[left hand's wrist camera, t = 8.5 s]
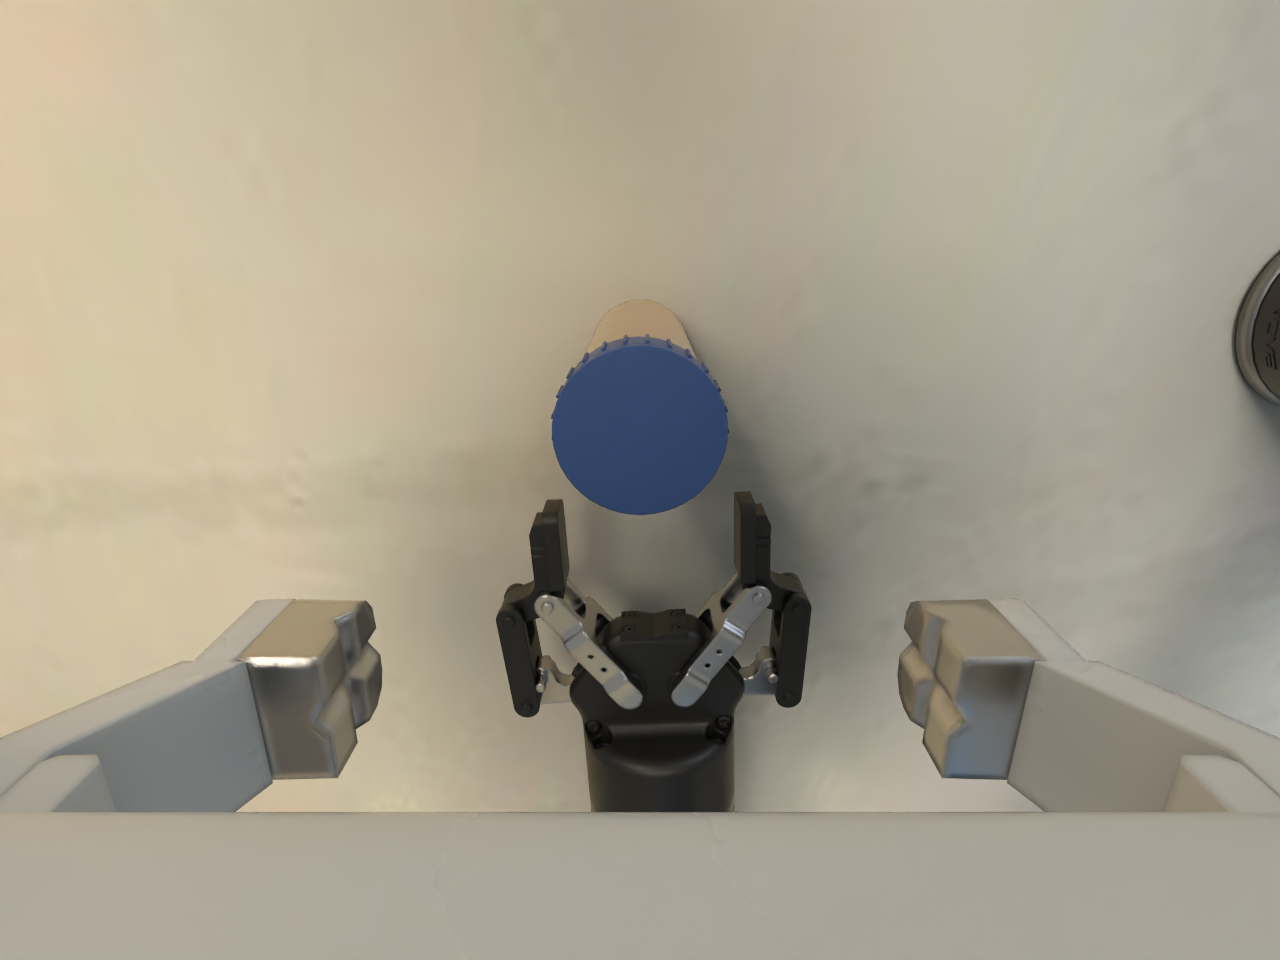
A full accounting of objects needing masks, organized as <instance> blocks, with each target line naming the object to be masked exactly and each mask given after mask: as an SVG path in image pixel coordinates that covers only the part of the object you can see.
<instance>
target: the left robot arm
mask: <svg viewBox="0 0 1280 960" xmlns="http://www.w3.org/2000/svg"><path fill="white" fill-rule="evenodd" d="M375 629H376V625H375V620H374V614H373V609H372V607H371V606H370V605H369V603H368V602H367V601H352V600H296V599H267V600H258V601H256V602H255V603H254V604H253V605H252V606H250V607H249V608H248V609H247V610H246V611H245V612H244V613H243V614H242V615H241V616H240V617H239V618H238V619H237V620H236V621H235V622H234V623H233V624H232V625H231V626H230V627H229V628H228V629H227V630H225V631H224V632H223V633H222V634H221V635H220V636H219V637H218V638H217V639H216V640H215V641H214V642H213V643H212V644H211V645H210V646H209V647H208V648H207V649H206V650H205V651H204V652H203V653H201V654H200V655H199V656H198V657H197V658H196V659H195V660H194V661H181V662H179V663H176V664H174V665H172V666H169V667H167V668H165V669H162V670H160V671H158V672H155V673H153V674H150V675H148V676H146V677H143V678H141V679H139V680H136V681H134V682H131V683H129V684H127V685H124V686H122V687H120V688H117V689H115V690H113V691H110V692H108V693H105V694H103V695H101V696H98V697H96V698H94V699H91V700H89V701H86V702H84V703H82V704H79V705H77V706H75V707H72V708H70V709H68V710H65V711H63V712H60V713H58V714H56V715H53V716H51V717H49V718H46V719H44V720H42V721H39V722H37V723H34V724H32V725H30V726H27V727H25V728H23V729H20V730H18V731H15V732H13V733H11V734H8V735H6V736H4V737H1V738H0V960H1280V738H1278V737H1276V736H1274V735H1271V734H1269V733H1266V732H1264V731H1262V730H1259V729H1257V728H1255V727H1252V726H1250V725H1248V724H1245V723H1243V722H1240V721H1238V720H1236V719H1233V718H1231V717H1229V716H1226V715H1224V714H1222V713H1219V712H1217V711H1214V710H1212V709H1210V708H1207V707H1205V706H1203V705H1200V704H1198V703H1196V702H1193V701H1191V700H1189V699H1186V698H1184V697H1181V696H1179V695H1177V694H1174V693H1172V692H1170V691H1167V690H1165V689H1163V688H1160V687H1158V686H1155V685H1153V684H1151V683H1148V682H1146V681H1144V680H1141V679H1139V678H1137V677H1134V676H1132V675H1129V674H1127V673H1125V672H1122V671H1120V670H1118V669H1115V668H1113V667H1111V666H1108V665H1106V664H1104V663H1101V662H1099V661H1086V660H1085V659H1084V658H1083V657H1082V656H1081V655H1080V654H1079V653H1078V652H1076V651H1075V650H1074V649H1073V648H1072V647H1071V646H1070V645H1069V644H1068V643H1067V642H1066V641H1065V640H1064V639H1063V638H1062V637H1061V636H1060V635H1059V634H1058V633H1057V632H1056V631H1055V630H1054V629H1053V628H1052V627H1051V626H1049V625H1048V624H1047V623H1046V622H1045V621H1044V620H1043V619H1042V618H1041V617H1040V616H1039V615H1038V614H1037V613H1036V612H1035V611H1034V610H1033V609H1032V608H1031V607H1030V606H1029V605H1028V604H1027V603H1026V602H1024V601H1021V600H1018V599H995V600H946V601H917V602H911V603H910V606H909V608H908V610H907V612H906V618H905V624H904V629H905V630H906V632H907V634H908V635H909V637H910V638H911V640H912V642H911V644H910V645H909V646H908V647H907V648H906V649H905V650H904V651H903V652H902V653H901V654H900V658H899V667H898V684H899V694H900V697H901V701H902V704H903V707H904V709H905V711H906V713H907V715H908V717H909V719H910V720H911V721H912V722H914V723H915V724H917V725H919V726H920V727H922V728H923V729H924V735H923V742H922V743H923V744H924V746H925V748H926V750H927V752H928V753H929V755H930V757H931V759H932V761H933V762H934V764H935V766H936V768H937V770H938V771H939V773H940V775H941V777H942V778H961V779H997V780H1008V781H1007V783H1008V784H1009V785H1011V786H1012V787H1013V788H1015V789H1016V790H1017V791H1019V792H1020V793H1021V794H1022V795H1024V796H1025V797H1026V798H1028V799H1029V800H1030V801H1032V802H1033V803H1034V804H1035V805H1037V806H1038V807H1039V808H1041V809H1042V810H1043V811H1045V812H236V811H237V810H238V809H240V808H241V807H242V806H243V805H245V804H246V803H247V802H249V801H250V800H251V799H253V798H254V797H255V796H256V795H258V794H259V793H260V792H262V791H263V790H264V789H266V788H267V787H268V786H269V785H271V784H272V783H273V781H272V780H282V779H318V778H338V777H339V775H340V773H341V771H342V770H343V768H344V766H345V764H346V762H347V761H348V759H349V757H350V755H351V753H352V752H353V750H354V748H355V746H356V744H357V743H358V742H357V735H356V729H357V728H358V727H360V726H361V725H363V724H365V723H366V722H368V721H369V720H370V719H371V717H372V715H373V713H374V711H375V709H376V707H377V705H378V700H379V696H380V692H381V687H382V665H381V658H380V654H379V653H378V652H377V651H376V650H375V649H374V648H373V647H372V646H371V645H370V644H369V642H368V640H369V638H370V637H371V635H372V634H373V632H374V630H375Z"/></svg>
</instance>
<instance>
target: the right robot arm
mask: <svg viewBox="0 0 1280 960" xmlns="http://www.w3.org/2000/svg"><path fill="white" fill-rule="evenodd" d="M1236 351H1237V358H1238V362H1239V366H1240V368H1241V371H1242V373H1243V375H1244V377H1245V379H1246V380H1247V382H1248V383H1249V384H1250V386H1251V387H1252V388H1253V389H1254V390H1255V391H1256V392H1257V393H1259V394H1260V395H1261V396H1263V397H1264V398H1266V399H1267V400H1269V401H1272V402H1274V403H1276V404H1279V405H1280V253H1279V254H1278V255H1277V256H1276V257H1275V258H1274V259H1273V260H1272V261H1271V262H1270V263H1269V264H1268V266H1267V267H1266V268H1265V269H1264V271H1263V272H1262V273H1261V274H1260V276H1259V277H1258V279H1257V280H1256V282H1255V283H1254V285H1253V287H1252V288H1251V290H1250V292H1249V294H1248V296H1247V298H1246V300H1245V303H1244V305H1243V308H1242V310H1241V314H1240V317H1239V321H1238V326H1237V333H1236ZM770 537H771V525H770V523H769V520H768V518H767V516H766V513H765V511H764V509H763V506H762V504H761V503H756V504H755V502H754V499H753V497H752V495H751V492H735V493H734V563H735V566H736V570H737V571H736V573H735V574H734V575H733V576H732V577H731V579H730V580H729V581H728V582H727V584H726V585H725V586H724V587H723V588H722V590H721V591H719V592H715V593H713V594H712V596H711V597H710V598H709V599H708V600H707V602H706V603H705V604H704V605H703V606H702V608H701V609H700V610H699V611H698V613H697V614H696V615H695V616H693V615H690V614H686V611H685V609H670V610H666V611H662V612H659V613H655V614H651V613H646V612H640V611H623V612H621V616H620V617H617V618H615V619H612V618H611V617H610V616H609V615H608V614H607V613H606V612H605V611H604V610H603V609H602V608H601V607H600V606H599V605H598V604H597V603H596V602H595V601H594V600H593V599H592V598H590V597H585V596H584V595H583V594H582V593H581V592H580V591H579V590H578V589H577V588H576V587H575V586H574V585H573V584H572V583H571V582H570V581H569V580H568V579H567V577H568V573H569V558H568V548H567V537H566V526H565V516H564V505H563V500H562V499H556V500H547V501H546V504H545V506H544V509H543V512H539V513H537V514H536V517H535V520H534V522H533V525H532V528H531V532H530V535H529V538H530V547H531V555H532V564H533V573H534V580H533V581H532V582H530V583H527V584H525V585H523V584H518V583H517V584H512V585H510V586H509V587H508V588H507V590H506V593H505V596H504V601H503V604H502V607H501V608H500V610H499V612H498V615H497V617H496V623H497V628H498V632H499V637H500V642H501V647H502V652H503V656H504V661H505V666H506V671H507V675H508V680H509V685H510V690H511V695H512V699H513V704H514V709H515V711H516V712H517V713H518V714H519V715H520V716H523V717H532V716H534V715H536V714H537V713H538V711H539V708H540V704H548V703H559V702H570V701H572V703H573V704H574V706H575V707H576V708H577V709H578V711H579V712H580V714H581V716H582V719H583V726H584V737H585V747H586V758H587V769H588V779H589V790H590V800H591V810H592V812H734V712H735V708H736V706H737V704H738V703H739V701H740V700H741V698H742V696H743V695H775V697H776V700H777V702H778V704H779V705H781V706H782V707H786V708H789V707H794V706H796V705H797V704H798V703H799V702H800V701H801V697H802V689H803V680H804V671H805V661H806V652H807V643H808V634H809V625H810V616H811V605H810V602H809V600H808V598H807V596H806V593H805V591H804V589H803V587H802V584H801V582H800V580H799V578H798V576H797V575H795V574H793V573H789V572H787V573H783V574H779V573H775V572H773V571H771V570H770V545H771V538H770ZM766 608H769V609H772V610H773V611H772V622H771V634H770V645H769V647H768V646H763V647H762V648H761V649H760V651H759V652H758V653H757V655H756V658H755V661H754V662H753V663H752V664H751V665H750V666H748V667H745V668H741V666H740V664H739V663H738V661H737V660H736V659H735V658H734V657H733V654H734V653H735V652H736V651H737V649H738V648H739V647H740V646H741V645H742V643H743V641H744V639H745V635H746V632H747V630H748V629H749V628H750V626H751V625H752V624H753V623H754V622H755V621H756V619H757V618H758V617H759V616H760V615H761V614H762V612H763V611H764V610H765V609H766ZM539 617H541V618H542V619H543V620H544V621H545V622H546V623H547V624H548V625H549V626H550V627H551V628H552V629H553V630H554V631H555V632H556V633H557V634H558V635H559V636H560V637H561V638H562V640H563V642H564V646H565V648H566V649H567V651H568V652H569V653H570V654H571V655H572V656H573V657H574V658H575V659H576V660H577V661H578V664H577V665H576V667H575V668H574V670H573V672H572V675H567V674H564V673H562V672H560V671H559V670H558V668H557V666H556V663H555V662H554V661H553V660H552V659H551V657H550V656H548V655H544V656H543V657H542V653H541V647H540V642H539V637H538V631H537V626H536V621H535V619H537V618H539Z"/></svg>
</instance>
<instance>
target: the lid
mask: <svg viewBox="0 0 1280 960" xmlns="http://www.w3.org/2000/svg"><path fill="white" fill-rule="evenodd" d="M566 378H567V381H566V383H565V385H564V386H561V388H560V390H559V392H558V394H557V396H556V398H558V400H557V403H556V406H555V409H554V411H553V414H552V416H551V419H553V421H552V440H553V446H554V450H555V454H556V457H557V460H558V462H559V464H560V466H561V468H562V470H563V472H564V473H565V475H566V477H567V478H568V479H569V481H570V482H571V483H572V484H573V486H574V487H575V488H576V489H577V490H578V491H579V492H580V493H582V494H583V495H584V496H586V497H587V498H588V499H590V500H591V501H593V502H595V503H596V504H598V505H600V506H602V507H605V508H607V509H609V510H613V511H616V512H620V513H625V514H633V515H646V514H655V513H660V512H664V511H667V510H670V509H673V508H676V507H678V506H680V505H682V504H684V503H686V502H687V501H689V500H690V499H692V498H693V497H694V496H696V495H697V494H698V493H699V492H700V491H702V490H703V489H704V487H705V486H706V485H707V484H708V483H709V482H710V481H711V479H712V478H713V476H714V475H715V473H716V472H717V470H718V468H719V466H720V464H721V462H722V459H723V456H724V453H725V449H726V445H727V436H728V433H729V430H728V423H727V416H726V412H728V411H727V407H726V405H725V403H724V401H723V399H722V398H721V396H720V394H719V392H720V391H721V389H720V387H719V385H718V383H717V381H716V379H715V380H712V378H711V376H710V374H709V371H708V369H707V366H706V364H705V363H704V362H702V363H700V362H699V361H698V359H696V358H695V357H694V356H693V355H692V354H691V352H690V350H689V349H688V348H686V350H685V349H683V348H681V347H680V346H678V345H676V344H673V343H671V340H670V339H668V338H667V340H666V341H665V340H662V339H658V338H653V337H649V334H646V336H645V337H640V336H637V337H627V335H624V337H623V338H622V339H618V340H614V341H612V342H609V343H607V342H606V341H604V342H603V344H602V346H600V347H599V348H597V349H595V350H594V351H592V352H591V353H588V352H586V353H585V355H584V357H583V359H582V360H581V361H580V362H579V363H578V365H577V366H576V367H575V368H573V367H572V368H571V369H570V371H569V373H568V375H567V377H566Z"/></svg>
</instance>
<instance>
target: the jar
mask: <svg viewBox="0 0 1280 960" xmlns="http://www.w3.org/2000/svg"><path fill="white" fill-rule="evenodd" d="M646 334H649V337H653V338H658V339H662V340H665V341H666V340H667V338H668V339H670V340H671V343H673V344H676V345H678V346H680V347H681V348H683V349H685V350H686V348H688V349H689V350H690V352H691V354H692V355H693V356H694V357H695V358H696V356H695V353H694V351H693V349H692V346H691V344H690V342H689V339H688V337H687V335H686V332H685V330H684V328H683V326H682V324H681V322H680V321H679V319H678V318H677V317H676V316H675V315H674V313H672V312H671V311H670V310H669V309H667V308H666V307H664V306H663V305H661V304H658V303H656V302H653V301H648V300H632V301H628V302H624V303H622V304H620V305H618V306H616V307H614V308H613V309H612V310H610V311H609V312H608V313H607V314H606V315H605V316H604V317H603V318H602V320H601V321H600V323H599V325H598V326H597V329H596V331H595V333H594V336H593V338H592V340H591V342H590V345H589V347H588V349H587V352H588V353H591V352H592V351H594V350H595V349H597V348H599V347H600V346H602V344H603V342H604V341H606V342H607V343H609V342H612V341H614V340H618V339H622V338H623V337H624V335H627V337H637V336H640V337H645V336H646ZM696 359H697V358H696Z"/></svg>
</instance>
